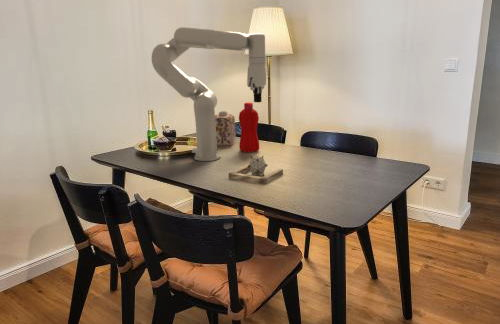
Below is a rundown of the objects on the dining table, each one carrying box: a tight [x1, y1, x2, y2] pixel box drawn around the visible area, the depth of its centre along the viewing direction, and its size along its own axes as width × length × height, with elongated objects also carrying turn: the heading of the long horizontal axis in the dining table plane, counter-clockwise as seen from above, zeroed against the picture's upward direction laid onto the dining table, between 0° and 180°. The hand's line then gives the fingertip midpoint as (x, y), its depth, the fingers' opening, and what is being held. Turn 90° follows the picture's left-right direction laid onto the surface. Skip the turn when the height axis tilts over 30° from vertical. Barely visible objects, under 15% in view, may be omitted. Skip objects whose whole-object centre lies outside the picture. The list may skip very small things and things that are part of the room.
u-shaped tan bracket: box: [228, 163, 284, 185], centre depth 167 cm, size 17×16×2 cm
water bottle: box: [238, 102, 260, 154], centre depth 206 cm, size 9×11×25 cm
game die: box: [247, 155, 268, 177], centre depth 167 cm, size 9×8×10 cm
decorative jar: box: [215, 110, 236, 146], centre depth 226 cm, size 12×12×18 cm
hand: (257, 102), depth 188 cm, fingers closed
